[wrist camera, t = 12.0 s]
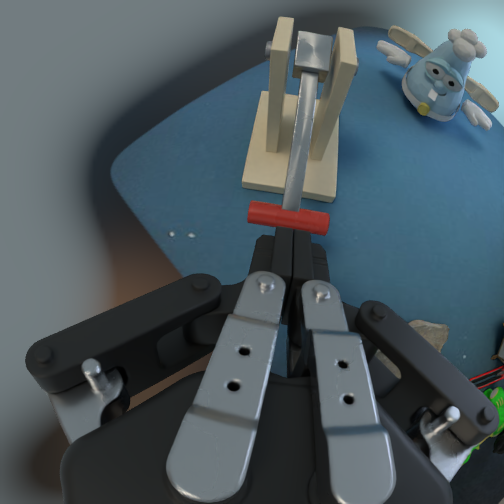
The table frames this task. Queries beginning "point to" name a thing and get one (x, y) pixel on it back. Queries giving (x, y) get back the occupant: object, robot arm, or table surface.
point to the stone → (427, 330)
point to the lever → (300, 141)
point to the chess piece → (499, 444)
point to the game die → (500, 351)
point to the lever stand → (283, 116)
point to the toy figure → (441, 75)
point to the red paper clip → (502, 372)
